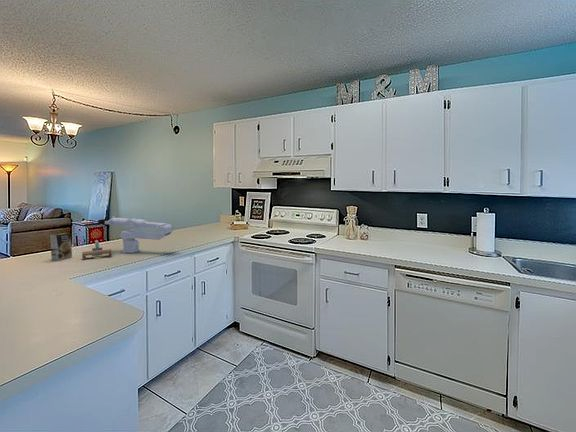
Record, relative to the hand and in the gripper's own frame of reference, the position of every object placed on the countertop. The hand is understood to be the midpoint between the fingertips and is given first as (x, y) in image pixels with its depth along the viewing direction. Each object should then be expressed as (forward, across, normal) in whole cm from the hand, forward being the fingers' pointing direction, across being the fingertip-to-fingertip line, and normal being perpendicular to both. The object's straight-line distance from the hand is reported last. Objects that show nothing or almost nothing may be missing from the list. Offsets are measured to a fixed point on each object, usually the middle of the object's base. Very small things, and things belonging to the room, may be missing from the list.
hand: (102, 221), depth 213 cm
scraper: (-1, +7, +22) cm, 23 cm away
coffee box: (+10, +23, +23) cm, 34 cm away
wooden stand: (-10, +17, +22) cm, 29 cm away
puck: (-10, +18, +22) cm, 30 cm away
